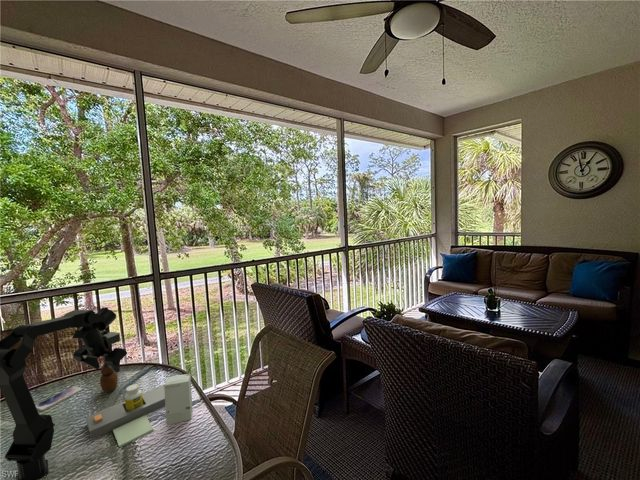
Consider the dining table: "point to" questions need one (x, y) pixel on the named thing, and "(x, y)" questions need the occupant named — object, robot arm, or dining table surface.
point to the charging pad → (132, 430)
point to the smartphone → (58, 398)
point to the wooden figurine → (108, 379)
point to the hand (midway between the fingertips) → (108, 370)
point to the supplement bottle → (133, 397)
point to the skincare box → (178, 398)
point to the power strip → (124, 413)
